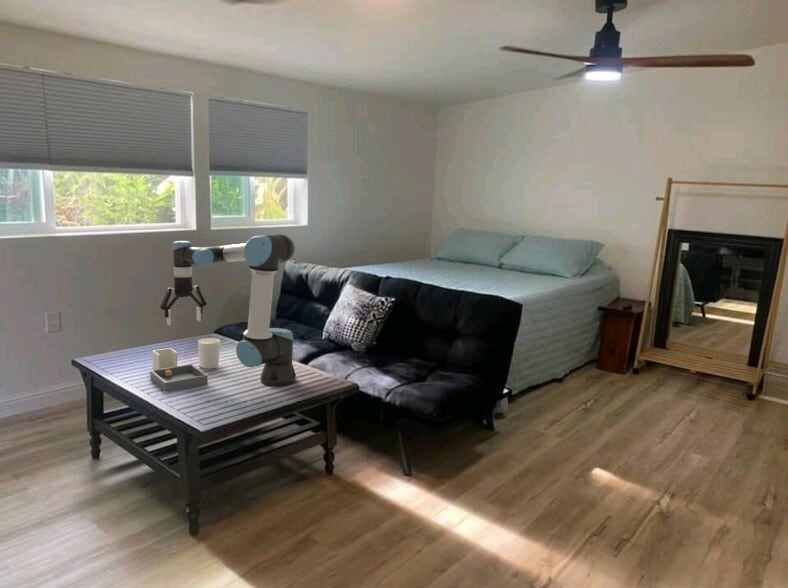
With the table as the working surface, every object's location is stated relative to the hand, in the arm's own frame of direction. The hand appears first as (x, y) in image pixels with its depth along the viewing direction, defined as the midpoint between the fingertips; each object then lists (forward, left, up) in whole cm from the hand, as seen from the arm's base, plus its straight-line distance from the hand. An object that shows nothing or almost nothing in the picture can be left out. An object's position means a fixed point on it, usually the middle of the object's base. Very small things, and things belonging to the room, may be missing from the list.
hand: (184, 322), depth 251 cm
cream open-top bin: (0, +9, -21) cm, 23 cm away
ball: (-11, +11, -19) cm, 24 cm away
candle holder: (-3, -10, -21) cm, 24 cm away
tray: (-17, +9, -21) cm, 29 cm away
